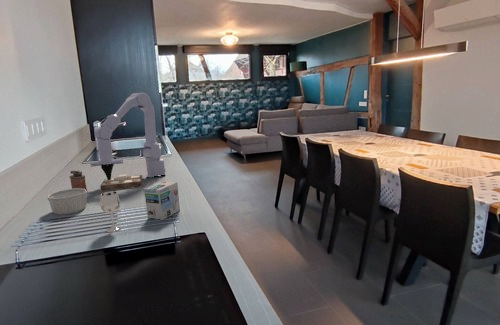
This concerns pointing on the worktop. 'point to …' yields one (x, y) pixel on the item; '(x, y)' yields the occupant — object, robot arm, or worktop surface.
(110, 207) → the wineglass
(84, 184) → the lighter
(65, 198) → the ramekin
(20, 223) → the worktop surface
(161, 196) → the light bulb box
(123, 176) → the key
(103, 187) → the button board
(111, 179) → the key
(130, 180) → the pattern card
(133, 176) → the key
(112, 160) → the robot arm
